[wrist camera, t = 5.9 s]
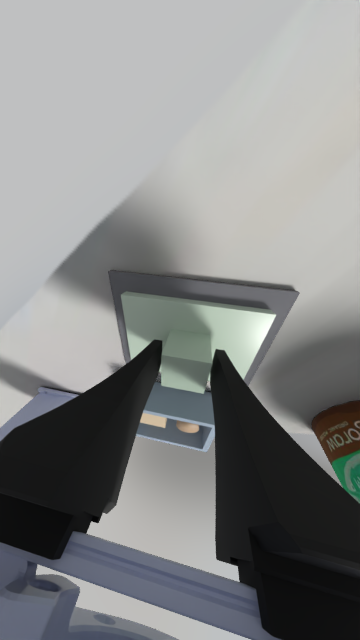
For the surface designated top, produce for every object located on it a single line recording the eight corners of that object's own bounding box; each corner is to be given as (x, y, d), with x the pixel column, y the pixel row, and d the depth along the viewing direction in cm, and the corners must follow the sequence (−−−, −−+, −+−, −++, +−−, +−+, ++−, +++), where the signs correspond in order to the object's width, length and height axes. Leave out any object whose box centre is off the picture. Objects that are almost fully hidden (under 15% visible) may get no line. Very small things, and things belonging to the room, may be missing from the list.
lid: (135, 360, 14) (116, 394, 11) (126, 291, 10) (92, 311, 7) (238, 379, 13) (249, 421, 10) (270, 309, 9) (306, 342, 6)
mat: (128, 362, 15) (126, 365, 14) (111, 270, 10) (108, 271, 9) (245, 383, 14) (247, 387, 13) (296, 290, 9) (299, 292, 8)
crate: (139, 407, 19) (128, 434, 17) (134, 377, 16) (120, 405, 13) (206, 421, 19) (206, 452, 16) (216, 393, 15) (219, 426, 12)
